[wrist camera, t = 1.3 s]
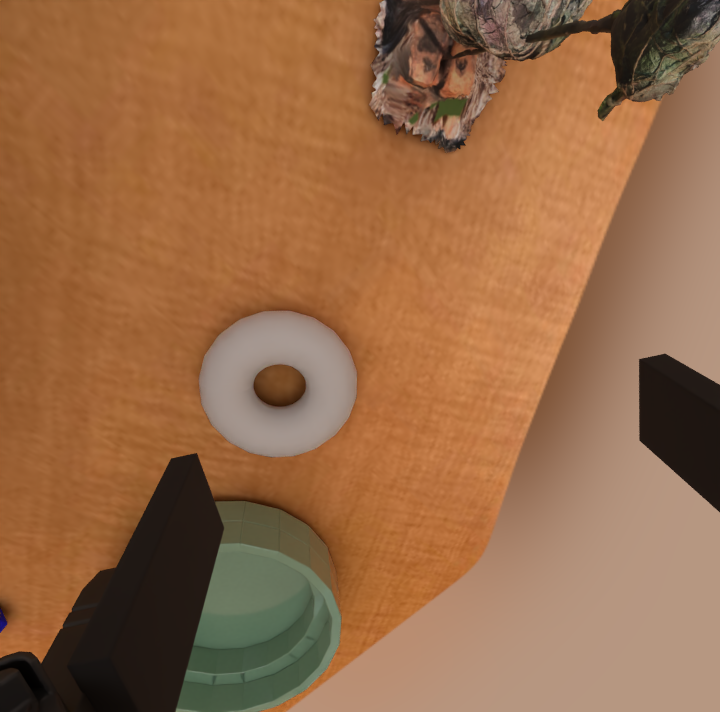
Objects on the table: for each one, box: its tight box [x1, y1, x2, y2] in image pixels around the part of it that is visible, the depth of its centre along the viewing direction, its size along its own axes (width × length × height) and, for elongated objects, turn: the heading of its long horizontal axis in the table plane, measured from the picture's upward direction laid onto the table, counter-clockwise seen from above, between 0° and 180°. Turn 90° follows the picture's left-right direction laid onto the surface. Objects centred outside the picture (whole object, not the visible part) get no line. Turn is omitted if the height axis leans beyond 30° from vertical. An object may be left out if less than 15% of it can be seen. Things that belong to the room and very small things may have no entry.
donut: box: [199, 310, 357, 457], centre depth 33 cm, size 10×4×10 cm
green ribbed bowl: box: [176, 501, 342, 712], centre depth 38 cm, size 16×16×5 cm
